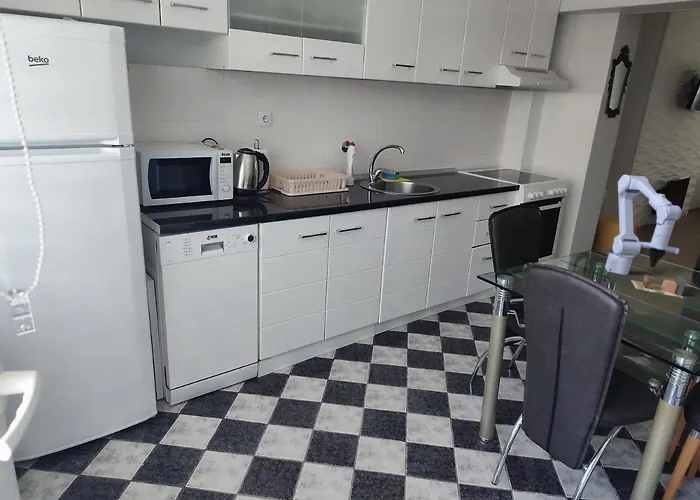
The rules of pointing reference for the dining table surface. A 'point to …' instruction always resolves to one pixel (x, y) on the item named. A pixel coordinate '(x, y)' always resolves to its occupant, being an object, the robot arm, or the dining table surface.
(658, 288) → the gauge board
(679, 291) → the grey flat block
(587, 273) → the dining table surface
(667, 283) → the peach matte cube
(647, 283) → the brown box with peg
